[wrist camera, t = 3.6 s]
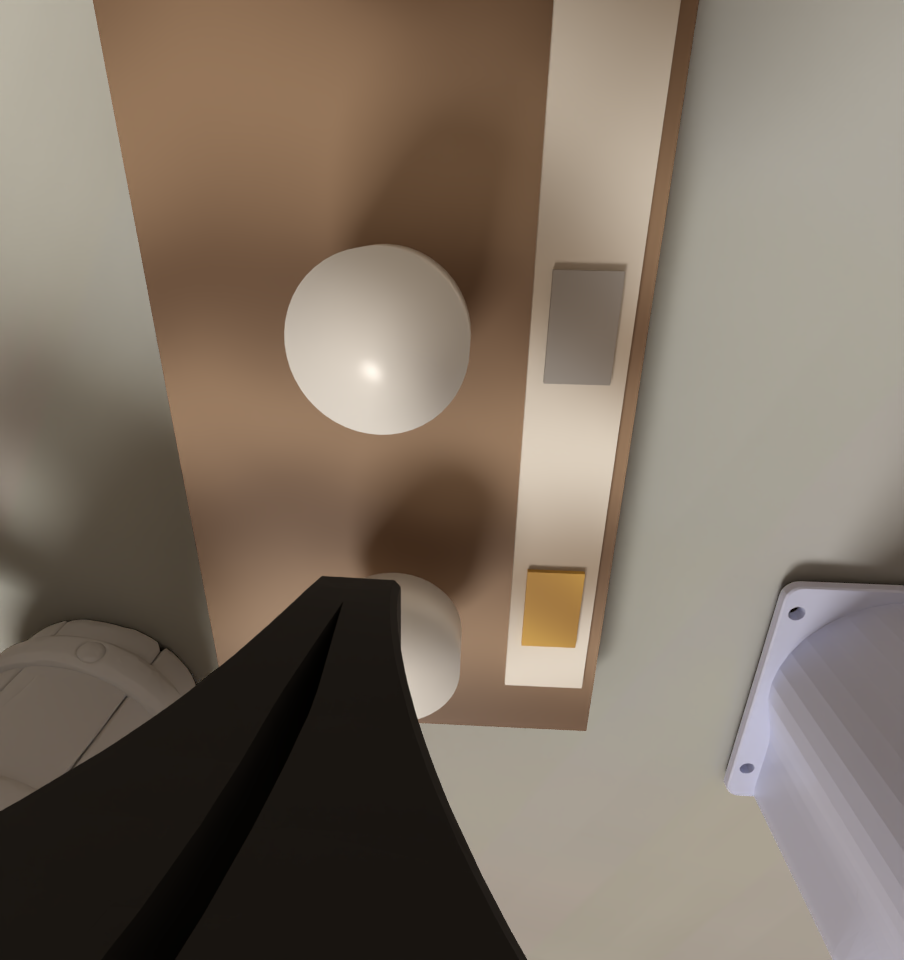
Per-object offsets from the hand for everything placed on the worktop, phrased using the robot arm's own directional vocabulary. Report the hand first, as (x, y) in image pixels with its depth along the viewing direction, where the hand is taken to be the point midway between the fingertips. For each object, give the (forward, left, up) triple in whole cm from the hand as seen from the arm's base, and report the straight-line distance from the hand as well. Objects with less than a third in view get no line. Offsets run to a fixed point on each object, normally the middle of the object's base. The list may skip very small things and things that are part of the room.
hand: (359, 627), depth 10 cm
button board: (+4, 0, -8) cm, 9 cm away
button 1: (-4, 0, -5) cm, 6 cm away
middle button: (+4, 0, -5) cm, 6 cm away
